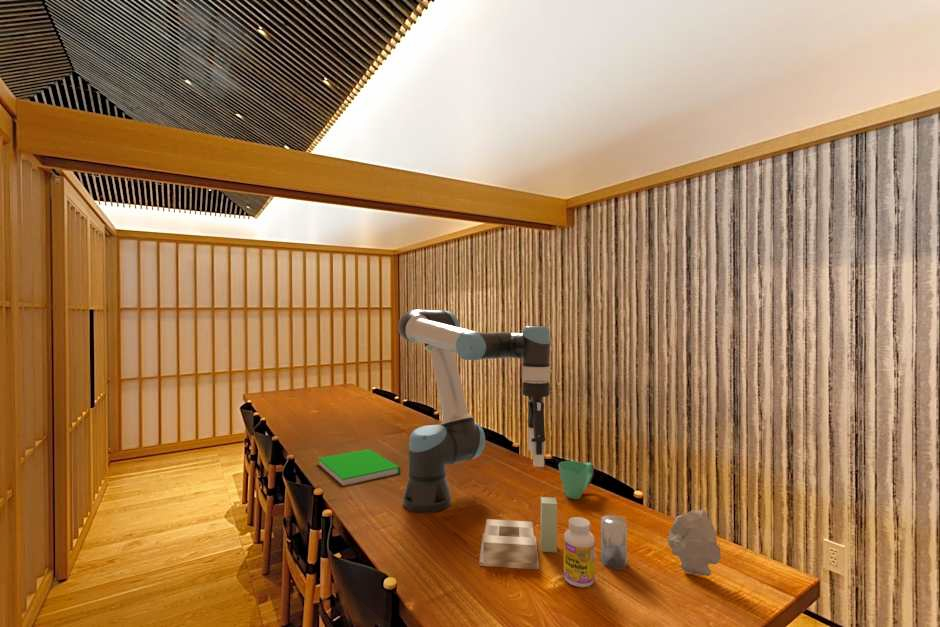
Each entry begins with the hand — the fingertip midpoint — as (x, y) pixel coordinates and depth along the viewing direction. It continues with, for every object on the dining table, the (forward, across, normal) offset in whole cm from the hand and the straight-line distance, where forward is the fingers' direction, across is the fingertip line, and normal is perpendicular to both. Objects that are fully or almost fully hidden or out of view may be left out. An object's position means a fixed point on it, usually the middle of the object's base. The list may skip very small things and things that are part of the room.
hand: (535, 458), depth 118 cm
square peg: (+20, -9, -2) cm, 22 cm away
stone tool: (+20, -19, -34) cm, 44 cm away
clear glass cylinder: (+20, -15, -17) cm, 30 cm away
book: (+21, +46, +64) cm, 81 cm away
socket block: (+20, -12, +8) cm, 24 cm away
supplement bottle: (+20, -22, -7) cm, 31 cm away
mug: (+20, +26, -17) cm, 37 cm away
